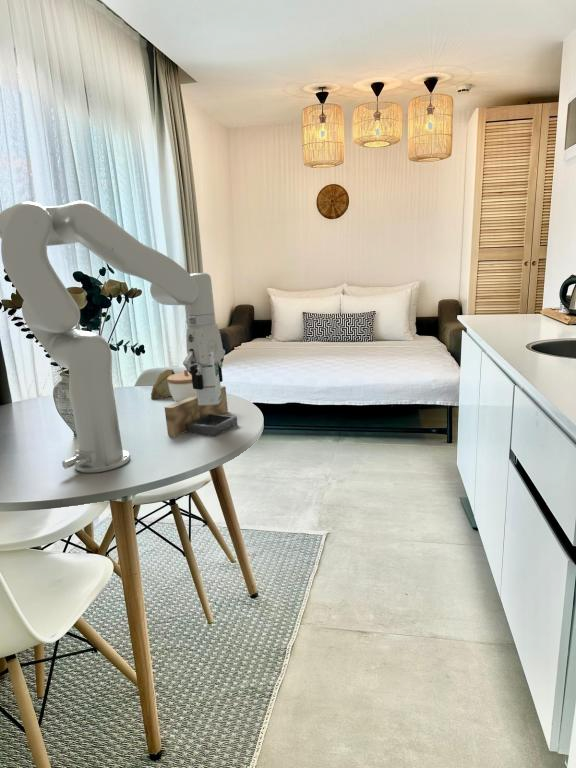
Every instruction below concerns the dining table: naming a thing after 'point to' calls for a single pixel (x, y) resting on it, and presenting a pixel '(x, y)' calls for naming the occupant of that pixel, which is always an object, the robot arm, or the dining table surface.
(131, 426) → the dining table surface
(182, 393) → the lidded bowl
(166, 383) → the rock
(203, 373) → the syrup box
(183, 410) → the board
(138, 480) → the dining table surface
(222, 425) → the tray
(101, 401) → the robot arm
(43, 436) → the dining table surface
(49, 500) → the dining table surface
